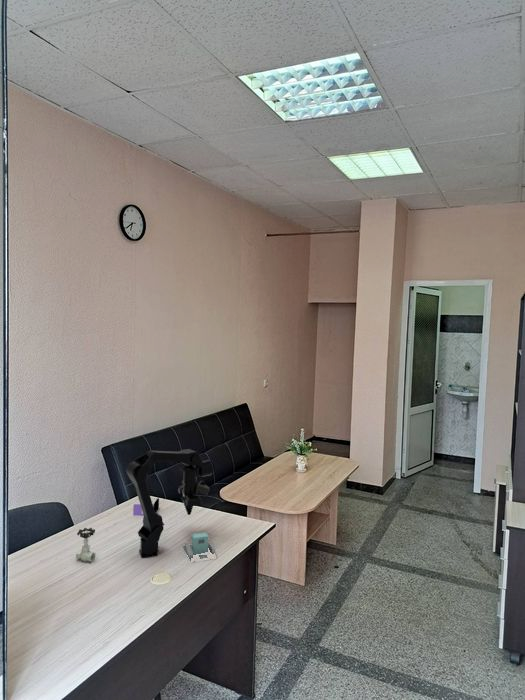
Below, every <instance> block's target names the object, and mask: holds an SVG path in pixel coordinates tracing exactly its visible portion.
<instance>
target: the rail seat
mask: <svg viewBox="0 0 525 700" xmlns="http://www.w3.org/2000/svg"><path fill="white" fill-rule="evenodd" d="M184 544H185V545H183V546H182V548H183V550H184V553H185V555H186V554H187V555H188V557H189V559H190V561H191V558H193V555H194V554H193V551H192V544H190V543H189V542H186V541H185V542H184ZM208 548H209V550H210V552H211V553H212V554H214V553H215V554H216V547H215V546H214V544H213V543H212V541H211V540H210V539H209V540H208ZM187 555H186V556H187ZM188 557H187V558H188ZM199 557H200V559H203V558H208V557H207V555H199ZM189 559H188V560H189ZM190 561H189V562H190Z"/></svg>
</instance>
